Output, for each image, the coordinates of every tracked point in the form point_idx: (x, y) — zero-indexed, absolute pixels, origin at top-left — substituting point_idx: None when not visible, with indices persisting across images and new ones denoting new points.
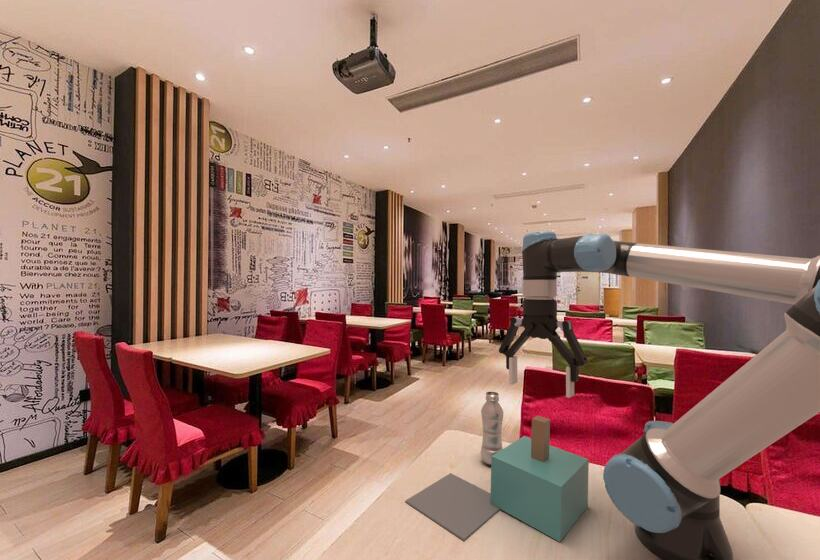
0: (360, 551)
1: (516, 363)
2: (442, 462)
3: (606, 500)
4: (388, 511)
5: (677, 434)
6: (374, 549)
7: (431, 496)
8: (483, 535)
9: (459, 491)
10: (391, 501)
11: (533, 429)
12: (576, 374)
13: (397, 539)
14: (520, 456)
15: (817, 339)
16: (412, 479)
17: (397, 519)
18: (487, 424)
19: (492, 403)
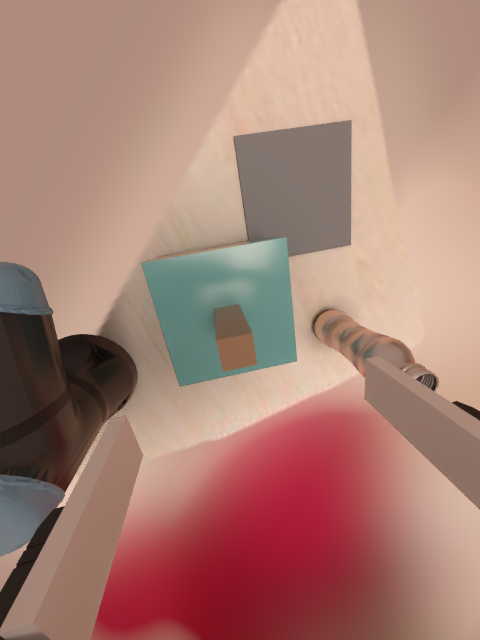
0: None
1: (449, 472)
2: (378, 258)
3: None
4: (352, 77)
5: None
6: None
7: (330, 169)
8: (226, 175)
9: (311, 220)
10: (366, 101)
11: (242, 324)
12: (11, 578)
13: (295, 40)
14: (252, 289)
15: None
16: (382, 179)
17: (328, 77)
18: (369, 333)
19: (398, 366)
